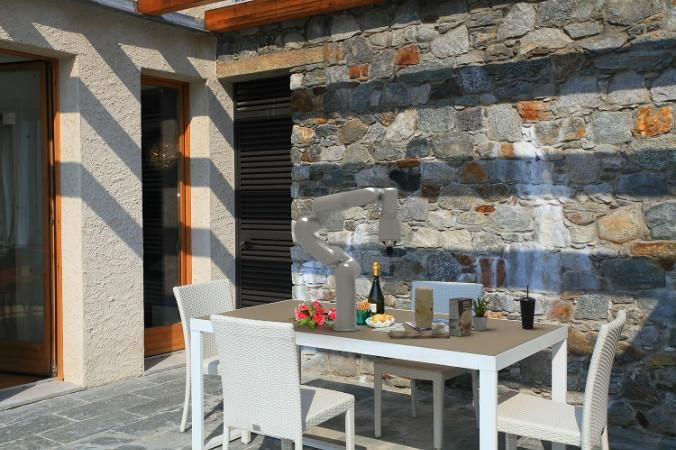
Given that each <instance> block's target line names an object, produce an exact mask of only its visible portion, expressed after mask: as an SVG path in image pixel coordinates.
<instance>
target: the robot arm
mask: <svg viewBox="0 0 676 450" xmlns="http://www.w3.org/2000/svg"><path fill="white" fill-rule="evenodd" d="M398 194H399V193H398V188H396V187H384V188H379V187H364V188H360V189H355V190H354V189H353V190H350V191H343V192H342V191H341V192H337V193H332V194H327V195H323V196H317V197H315V198H314V199H313V200H312V202H311V209H312V211H311V212H310V213H309V215H306V216H305V215H304V216H301V217H300V218H298V219H297V220H296V222H295V223H294V227H293V232H294V233H293V234H294V237H295V239H296V242H297V243H298V244H299V245H300V246H301V247H302V248H303V249H304V250H305V251H306V252H308V253H309V254H310V255H311V256H312V257H313V258H314V259H315V260H316V261H318V262H319V263H320V264H321V265H323V266H324V267H325V268H334V275H333V276H334V283H335V285H334V286H335V319H334V320H326V326H332V330H334V331H336V332H357V331H360V330H361V327H360V325H357V315H358V314H357V312H358V311H357V286H356V280H357V279H358V278H359V277H360V276H361V274H362V273H361V272H362V268H361V265H360V263H359V262H358V261H357V260H355V259H354V258H353V256H351V255H350V254H348V253H347V252H346V251H345V250H343V249H342V248H340V247H339V246H337V245H329V244H327V243H326V242H325V241H324V240H323V239H322V238H320V237H318V236H317V235H316V234H315V233H317V232H319V231H320V230H321V228H322V227H323V226H324V224H326V222H327V220H329V218H330V216H331V215H332V213H338V212H345V211H348V210H350V209H353V208H356V207H362V206H367V205H377V204H380V211H379V212H377V215H378V216H380V218H379V220H378V230H377V231H378V232H377V234H378V239H377V242H378V243H380V244H383V245H384V246H385V253H386V254H387V256H391V257H392V254H394V246H395V245H396V244H398V243H402V237H401V236H402V230H401V220H400V217H398V216H399V213H398V208H399V207H398V204H399V203H398V201H399V198H398ZM389 241H390V245H389Z"/></svg>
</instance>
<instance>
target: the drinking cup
mask: <svg viewBox="0 0 676 450" xmlns="http://www.w3.org/2000/svg"><path fill="white" fill-rule="evenodd" d="M518 300H519V305H520V306H519V307H520V316H521V328H522V329H523V330H533V329H534V324H535V323H534V321H535V312H536V311H535V310H536V301H537V299H536V298H534V297H532V296H529V285H526V296H523V297H521V298H519V299H518Z"/></svg>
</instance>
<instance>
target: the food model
mask: <svg viewBox="0 0 676 450" xmlns="http://www.w3.org/2000/svg"><path fill="white" fill-rule="evenodd" d="M414 289H415V290H414V321H415V325H416V328H417V327H419V328H432V323H434V289H433V288H432V287H430V286H426V285H418V286H416V287H415V288H414ZM419 328H418V329H419Z"/></svg>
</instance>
